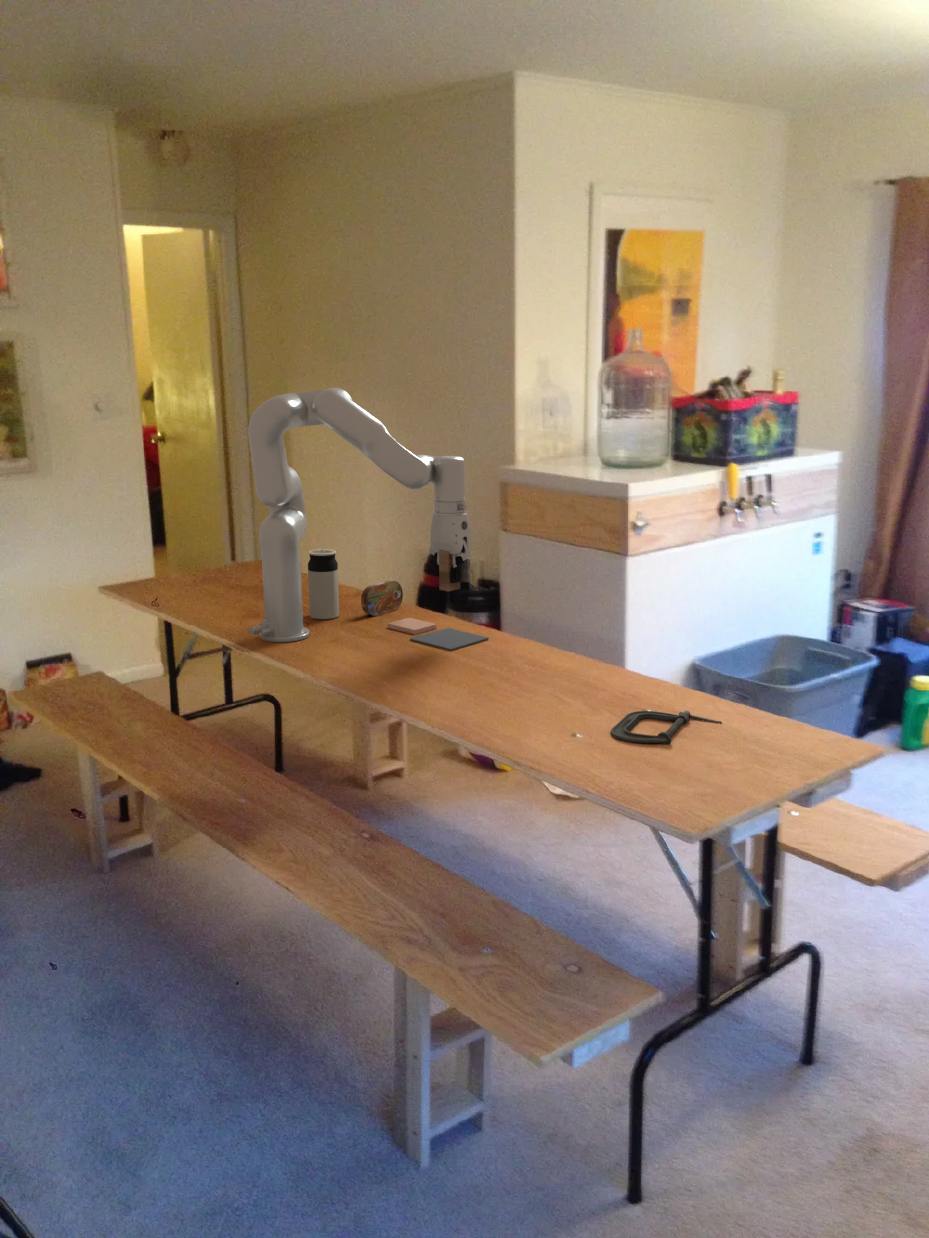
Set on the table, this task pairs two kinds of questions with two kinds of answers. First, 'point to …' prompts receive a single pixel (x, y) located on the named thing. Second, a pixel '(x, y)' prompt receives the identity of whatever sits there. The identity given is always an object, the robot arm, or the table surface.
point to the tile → (412, 625)
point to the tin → (382, 598)
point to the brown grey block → (444, 572)
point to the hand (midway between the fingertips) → (450, 580)
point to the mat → (449, 639)
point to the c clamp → (633, 718)
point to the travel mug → (323, 584)
